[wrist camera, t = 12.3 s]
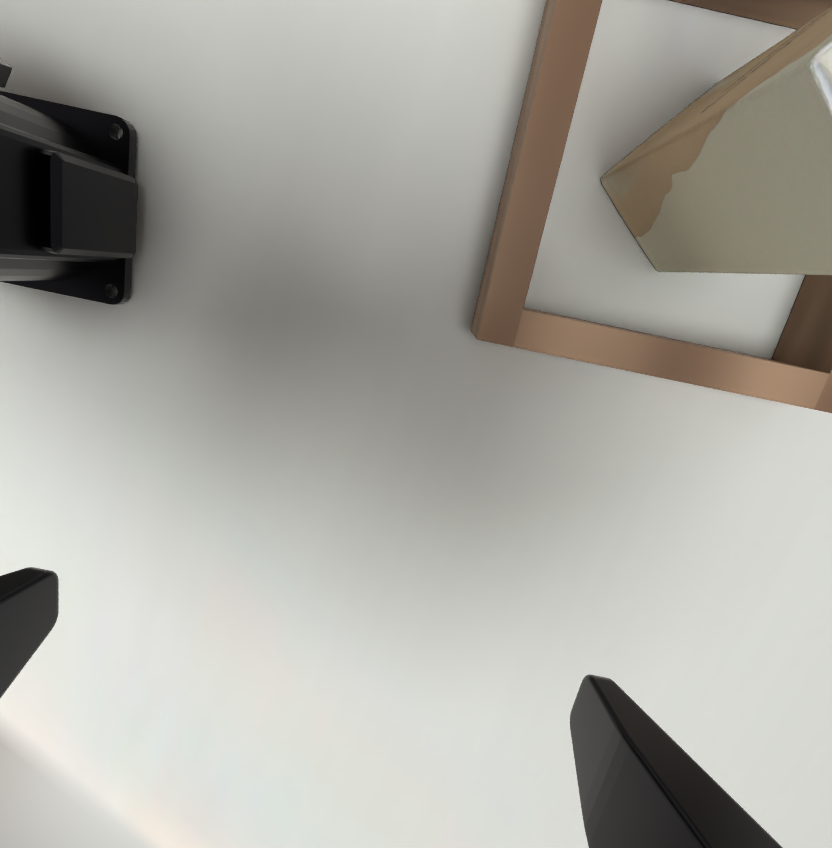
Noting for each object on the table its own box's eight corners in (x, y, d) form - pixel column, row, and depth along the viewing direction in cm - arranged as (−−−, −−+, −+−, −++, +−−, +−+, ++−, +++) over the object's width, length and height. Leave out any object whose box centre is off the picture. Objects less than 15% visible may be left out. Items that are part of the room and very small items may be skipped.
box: (721, 78, 17) (1191, -245, 7) (782, 186, 18) (1285, 55, 7) (590, 184, 18) (811, 54, 8) (652, 281, 19) (931, 286, 8)
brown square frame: (470, 330, 20) (476, 339, 17) (563, -74, 16) (591, -150, 13) (789, 396, 20) (849, 416, 17) (951, 15, 16) (1061, -40, 14)
